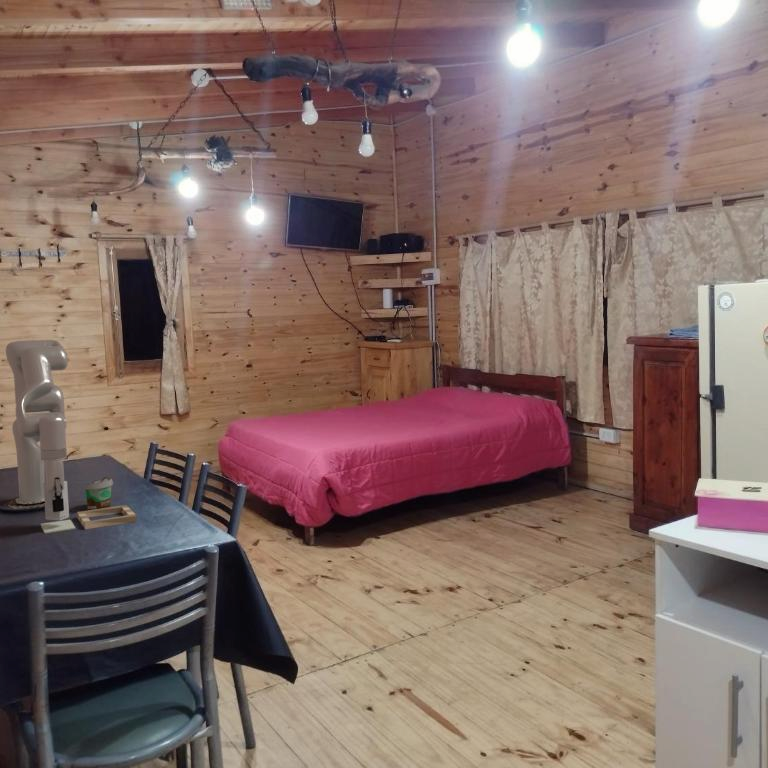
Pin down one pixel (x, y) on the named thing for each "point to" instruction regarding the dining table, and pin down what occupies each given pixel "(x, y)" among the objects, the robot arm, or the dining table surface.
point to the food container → (99, 493)
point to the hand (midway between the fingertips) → (56, 508)
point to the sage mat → (57, 526)
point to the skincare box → (49, 507)
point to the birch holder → (87, 524)
